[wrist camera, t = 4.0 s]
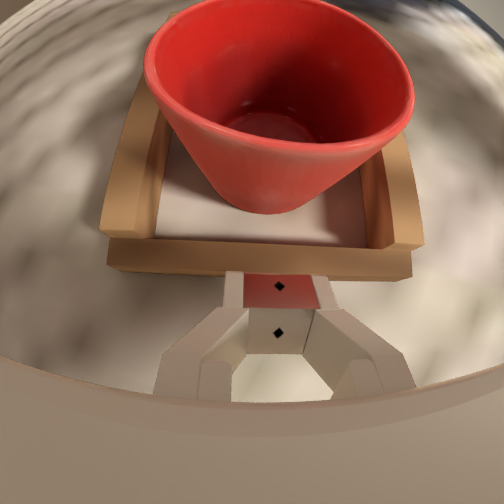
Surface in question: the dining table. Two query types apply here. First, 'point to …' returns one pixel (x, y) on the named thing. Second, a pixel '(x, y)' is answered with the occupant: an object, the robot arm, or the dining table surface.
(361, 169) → the brown wooden u-shaped frame
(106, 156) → the dining table surface
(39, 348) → the dining table surface
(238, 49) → the flower pot
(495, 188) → the dining table surface
